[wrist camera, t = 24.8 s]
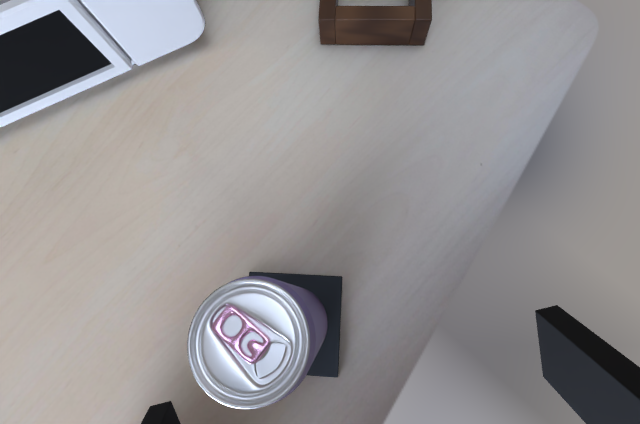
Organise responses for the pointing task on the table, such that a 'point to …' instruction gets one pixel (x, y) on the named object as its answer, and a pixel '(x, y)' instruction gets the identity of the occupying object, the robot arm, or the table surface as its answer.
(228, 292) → the beverage can
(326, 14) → the holder
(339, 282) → the coaster
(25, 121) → the table surface
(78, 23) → the alarm clock
